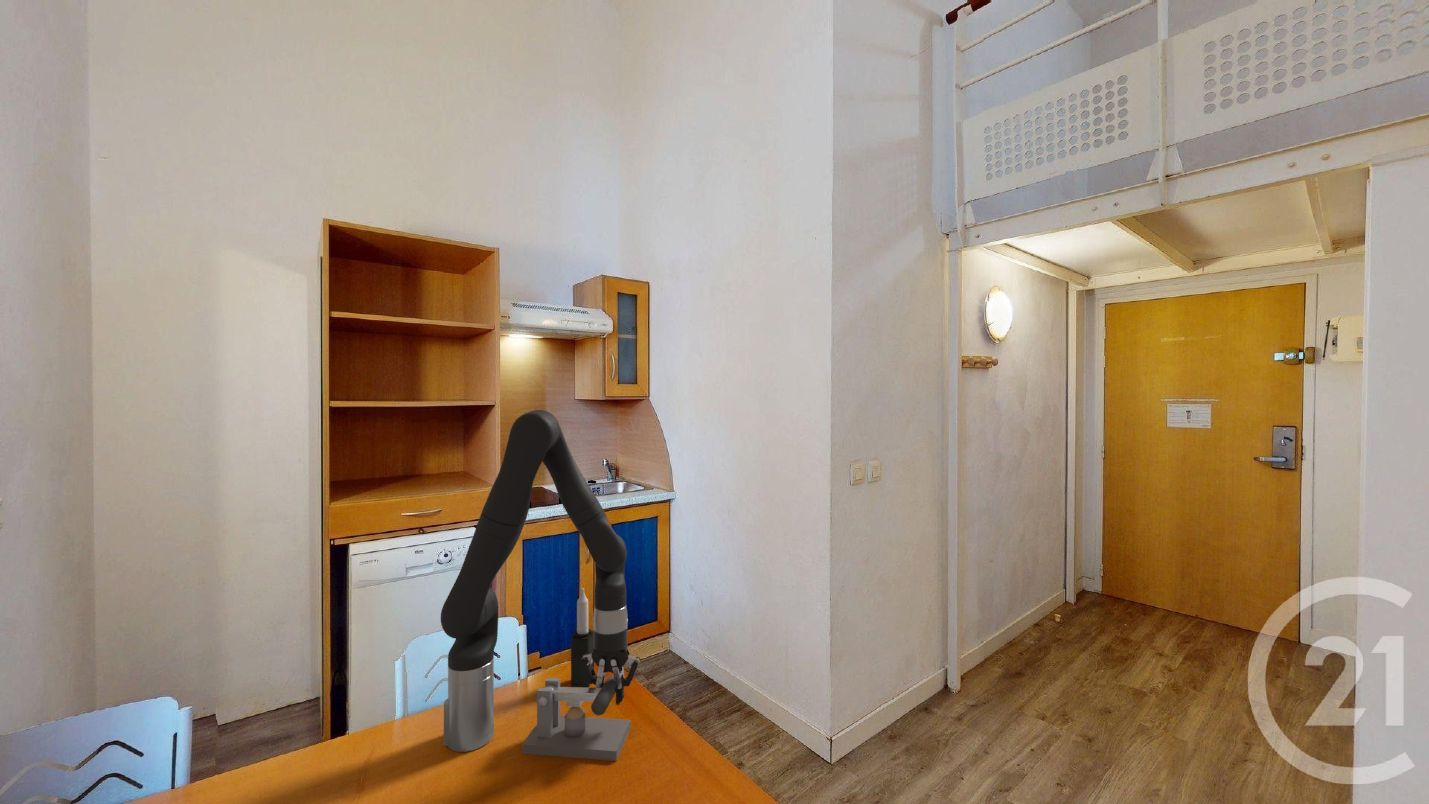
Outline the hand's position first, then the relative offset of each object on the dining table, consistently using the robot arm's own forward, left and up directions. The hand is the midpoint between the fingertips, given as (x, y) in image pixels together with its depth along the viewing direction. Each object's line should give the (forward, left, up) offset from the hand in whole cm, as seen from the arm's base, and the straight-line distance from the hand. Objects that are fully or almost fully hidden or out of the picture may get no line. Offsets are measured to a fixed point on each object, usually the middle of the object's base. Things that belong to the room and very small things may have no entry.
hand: (610, 702), depth 121 cm
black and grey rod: (-14, +21, -7) cm, 26 cm away
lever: (-6, -3, +1) cm, 7 cm away
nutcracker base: (-6, -3, -7) cm, 10 cm away
